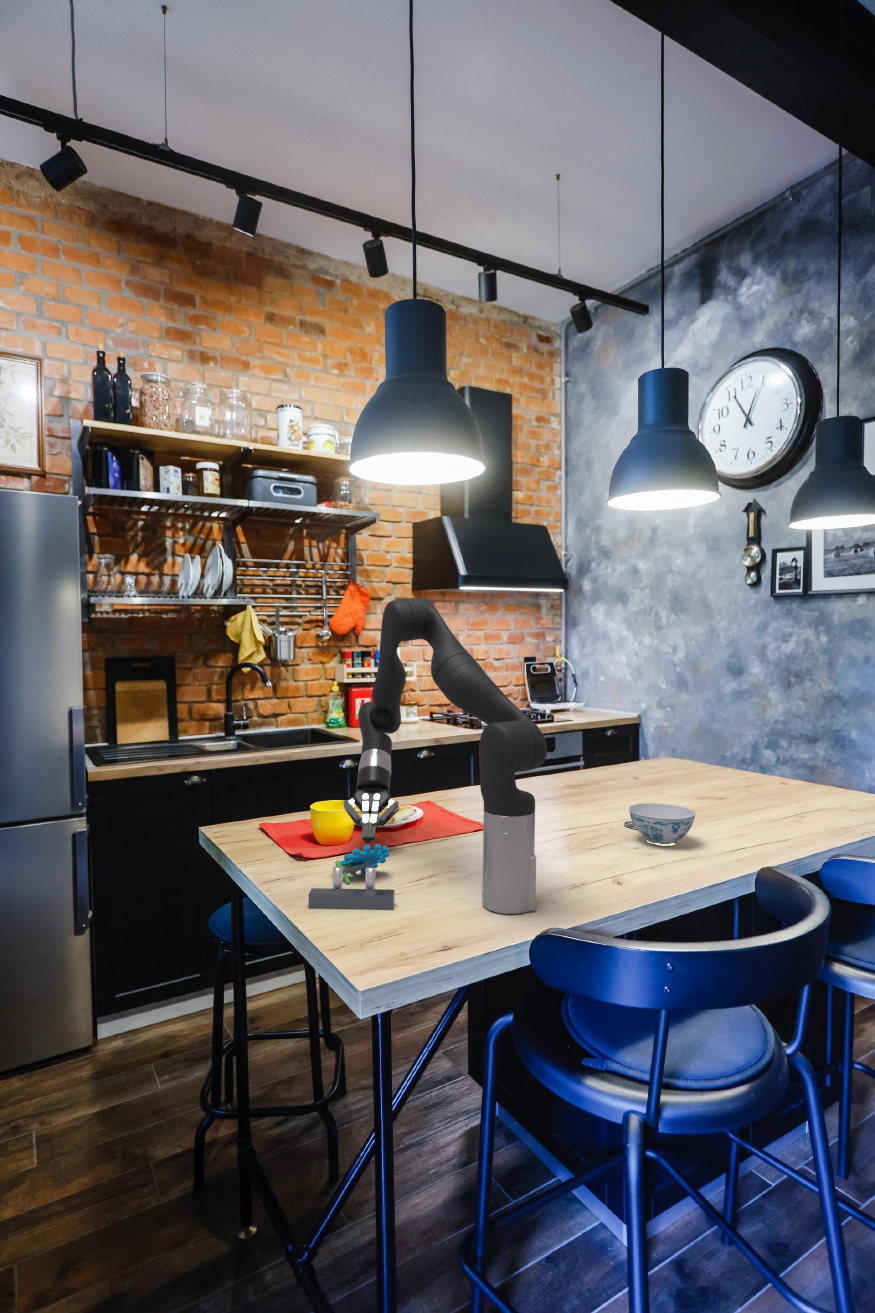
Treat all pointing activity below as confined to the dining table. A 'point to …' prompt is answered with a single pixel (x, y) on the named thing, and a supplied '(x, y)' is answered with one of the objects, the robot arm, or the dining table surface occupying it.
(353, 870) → the blue bumpy piece
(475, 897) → the dining table surface
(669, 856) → the dining table surface
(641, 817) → the chinaware
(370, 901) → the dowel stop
